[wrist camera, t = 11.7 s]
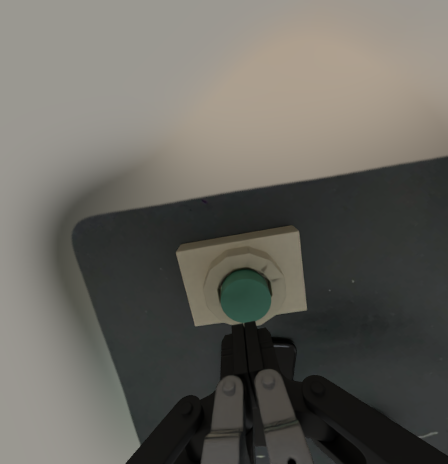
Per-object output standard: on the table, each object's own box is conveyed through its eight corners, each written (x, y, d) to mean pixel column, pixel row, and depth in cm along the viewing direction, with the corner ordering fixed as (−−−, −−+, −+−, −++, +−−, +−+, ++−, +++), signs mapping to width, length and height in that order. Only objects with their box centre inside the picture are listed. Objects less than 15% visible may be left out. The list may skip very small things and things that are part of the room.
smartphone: (282, 440, 29) (296, 339, 25) (284, 449, 28) (299, 345, 24) (221, 437, 29) (224, 336, 25) (221, 446, 28) (224, 342, 24)
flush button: (264, 265, 19) (268, 274, 17) (270, 306, 20) (274, 319, 18) (217, 273, 19) (216, 283, 17) (225, 313, 20) (225, 326, 18)
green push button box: (292, 224, 21) (306, 236, 17) (300, 297, 23) (314, 323, 20) (180, 244, 22) (170, 260, 18) (197, 313, 24) (192, 340, 20)
